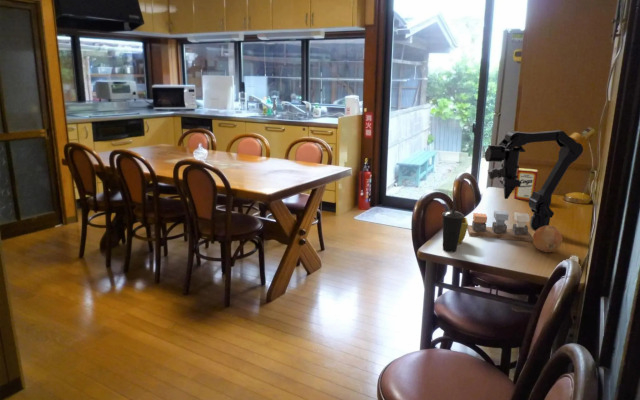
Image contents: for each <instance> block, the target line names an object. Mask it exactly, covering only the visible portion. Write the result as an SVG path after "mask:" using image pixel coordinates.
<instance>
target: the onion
mask: <svg viewBox="0 0 640 400" xmlns="http://www.w3.org/2000/svg"><path fill="white" fill-rule="evenodd" d="M532 237H533V241H532V242H533V244H534V246H535V248H537V250H540V252H544V253H552V252H555V251H557V250H558V249H559V248H560V247H561V246H562V243H563V235H562V233H561V232H560V231H559V229H557V227H556V226H554V225H550V224H549V225H548V226H542V227H540V228H538V229H537V230H534V232H533V235H532Z"/></svg>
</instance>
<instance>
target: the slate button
mask: <svg viewBox="0 0 640 400" xmlns="http://www.w3.org/2000/svg"><path fill="white" fill-rule="evenodd" d="M509 215H510V214H509V213H508V211H503V210H494V211H493V219H494V220H495V222H496V225H500V226H504V223H505V221H509V217H510V216H509Z"/></svg>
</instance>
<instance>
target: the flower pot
mask: <svg viewBox="0 0 640 400" xmlns="http://www.w3.org/2000/svg"><path fill="white" fill-rule="evenodd" d="M468 225H469V222H468V219H467V217H465V216H464V218H463V220H462V225H461V230H460V235H459V240H458V245H460V244H461V243H462V242H463V241H464V239H465V237H466V235H467V232H468V230H467V227H468Z"/></svg>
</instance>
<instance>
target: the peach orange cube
mask: <svg viewBox="0 0 640 400" xmlns="http://www.w3.org/2000/svg"><path fill="white" fill-rule="evenodd" d="M472 219H473V220H474V222H475V223H476V224H483V223H486V224H487V222H488V216H487V214H486V213H478V212H477V213H476V212H474V213H473V215H472ZM473 220H472V221H473Z"/></svg>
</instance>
